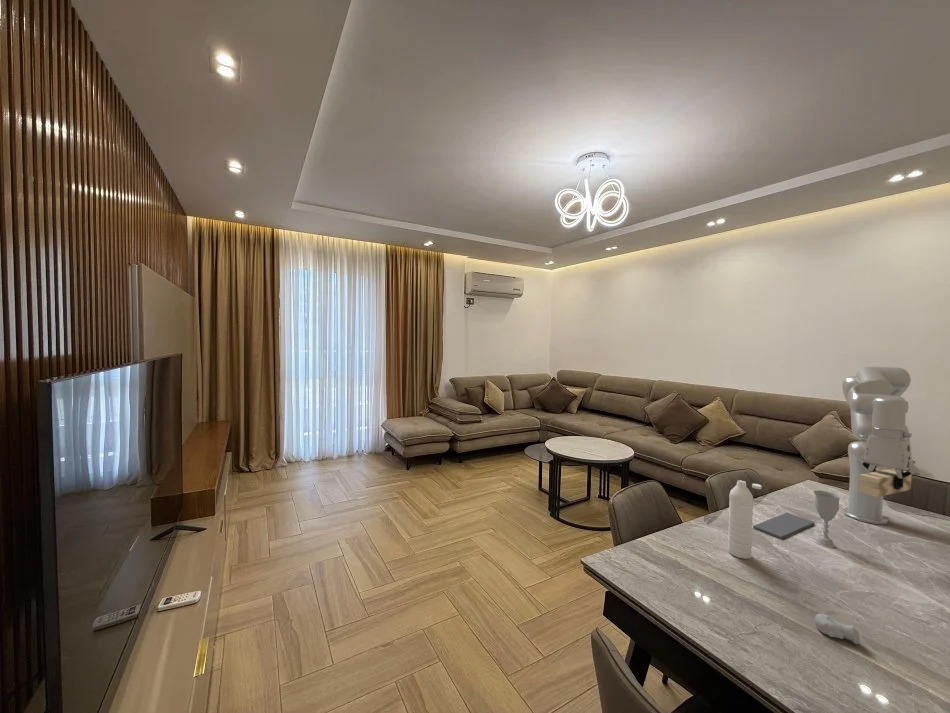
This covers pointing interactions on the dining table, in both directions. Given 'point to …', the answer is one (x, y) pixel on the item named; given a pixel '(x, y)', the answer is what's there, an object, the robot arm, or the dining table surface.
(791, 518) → the tool pad
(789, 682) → the dining table surface
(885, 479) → the grooved wooden block
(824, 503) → the chalice
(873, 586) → the dining table surface
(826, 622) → the smooth white sculpture
